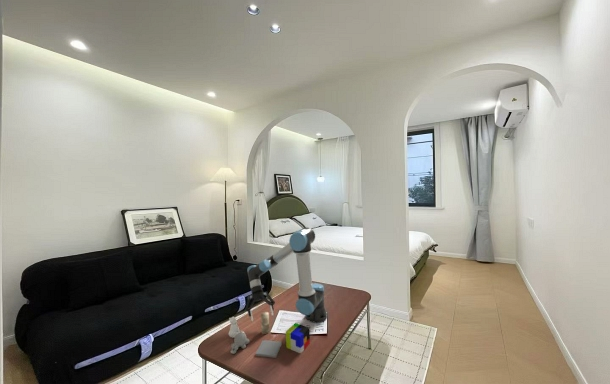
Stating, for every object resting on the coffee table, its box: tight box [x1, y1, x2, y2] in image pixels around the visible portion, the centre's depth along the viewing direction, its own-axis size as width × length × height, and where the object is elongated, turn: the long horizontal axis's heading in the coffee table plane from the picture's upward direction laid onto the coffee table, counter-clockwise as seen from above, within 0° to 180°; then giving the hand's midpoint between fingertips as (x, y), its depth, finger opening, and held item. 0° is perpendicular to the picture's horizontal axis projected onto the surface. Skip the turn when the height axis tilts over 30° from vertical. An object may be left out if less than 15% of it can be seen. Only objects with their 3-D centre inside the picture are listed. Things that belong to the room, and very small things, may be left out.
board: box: [254, 339, 283, 359], centre depth 151 cm, size 12×12×1 cm
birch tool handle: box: [260, 311, 270, 335], centre depth 168 cm, size 5×5×12 cm
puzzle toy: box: [285, 322, 311, 354], centre depth 153 cm, size 10×10×10 cm
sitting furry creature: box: [228, 316, 245, 339], centre depth 165 cm, size 10×9×12 cm
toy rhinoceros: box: [230, 331, 250, 355], centre depth 152 cm, size 7×12×8 cm, turn 146°
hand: (262, 318), depth 169 cm, fingers open, 13 cm apart
